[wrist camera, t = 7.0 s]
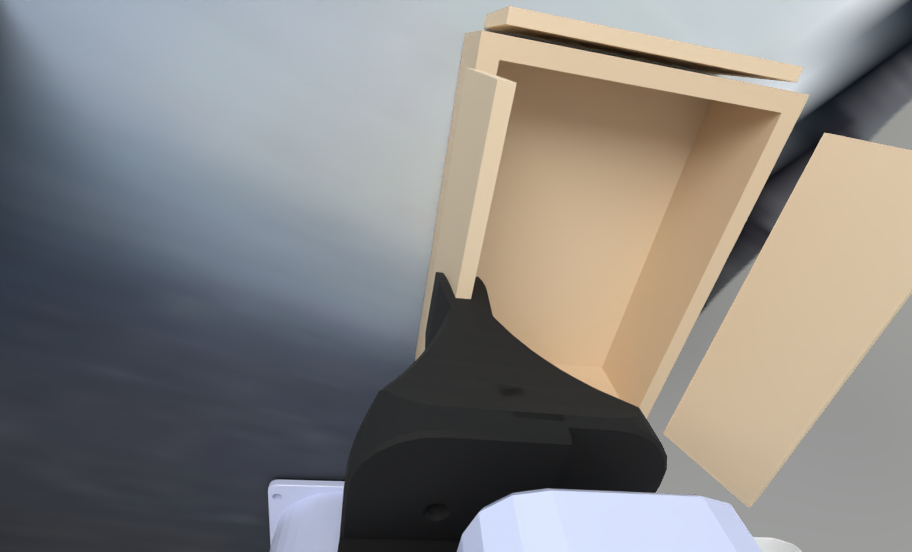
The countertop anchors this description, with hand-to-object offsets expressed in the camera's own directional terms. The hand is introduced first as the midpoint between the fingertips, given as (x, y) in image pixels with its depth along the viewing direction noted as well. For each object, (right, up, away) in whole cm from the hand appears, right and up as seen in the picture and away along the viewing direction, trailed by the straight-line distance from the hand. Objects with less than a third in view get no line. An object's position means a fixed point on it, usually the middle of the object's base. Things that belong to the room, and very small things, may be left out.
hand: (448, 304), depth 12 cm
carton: (+4, +2, +7) cm, 8 cm away
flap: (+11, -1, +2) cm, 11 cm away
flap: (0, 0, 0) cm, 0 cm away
